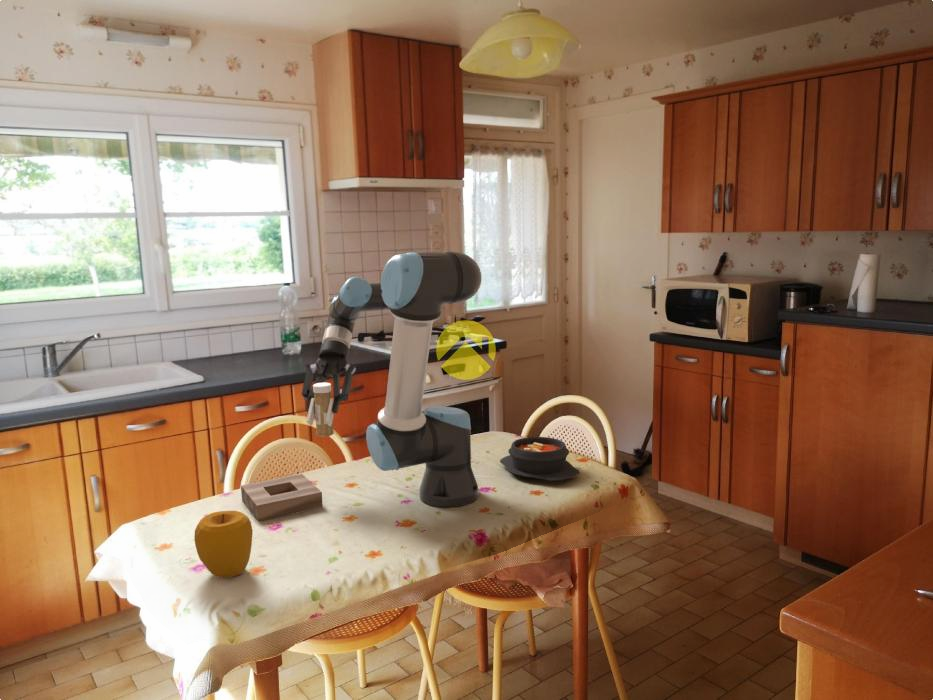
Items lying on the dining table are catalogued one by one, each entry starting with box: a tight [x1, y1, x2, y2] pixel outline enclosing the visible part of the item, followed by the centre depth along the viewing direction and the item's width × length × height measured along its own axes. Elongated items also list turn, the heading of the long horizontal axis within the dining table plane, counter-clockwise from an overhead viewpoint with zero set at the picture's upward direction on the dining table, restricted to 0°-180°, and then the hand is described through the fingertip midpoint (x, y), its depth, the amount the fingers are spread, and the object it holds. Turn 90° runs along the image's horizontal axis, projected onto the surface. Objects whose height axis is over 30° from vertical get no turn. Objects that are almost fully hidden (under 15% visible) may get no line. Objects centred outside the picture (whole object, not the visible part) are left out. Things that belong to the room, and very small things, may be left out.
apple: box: [193, 510, 253, 579], centre depth 140 cm, size 11×11×13 cm
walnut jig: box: [240, 473, 324, 522], centre depth 177 cm, size 16×16×4 cm
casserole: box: [499, 436, 581, 482], centre depth 196 cm, size 25×19×8 cm
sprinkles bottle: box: [312, 382, 335, 438], centre depth 180 cm, size 5×5×14 cm
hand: (318, 423), depth 176 cm, fingers closed on sprinkles bottle, 4 cm apart
